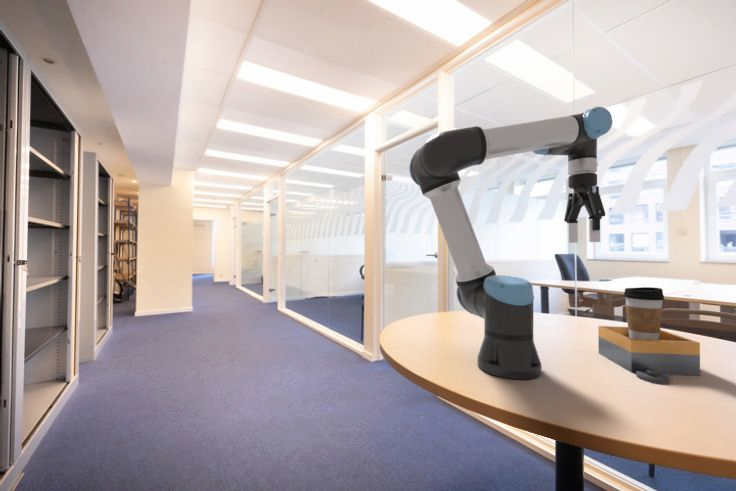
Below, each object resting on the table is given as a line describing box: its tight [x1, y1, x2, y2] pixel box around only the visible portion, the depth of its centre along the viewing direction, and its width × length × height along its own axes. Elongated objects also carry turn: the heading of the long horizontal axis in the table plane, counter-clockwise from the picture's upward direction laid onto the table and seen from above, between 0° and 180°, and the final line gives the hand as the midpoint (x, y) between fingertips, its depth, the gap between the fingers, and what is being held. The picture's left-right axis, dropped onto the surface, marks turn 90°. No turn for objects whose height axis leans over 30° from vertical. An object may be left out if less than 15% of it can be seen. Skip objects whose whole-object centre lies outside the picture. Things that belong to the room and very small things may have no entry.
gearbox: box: [597, 325, 701, 377], centre depth 88 cm, size 15×15×8 cm
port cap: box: [635, 369, 671, 385], centre depth 78 cm, size 6×6×2 cm
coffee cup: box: [623, 286, 665, 340], centre depth 88 cm, size 8×8×15 cm
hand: (582, 242), depth 102 cm, fingers open, 13 cm apart
